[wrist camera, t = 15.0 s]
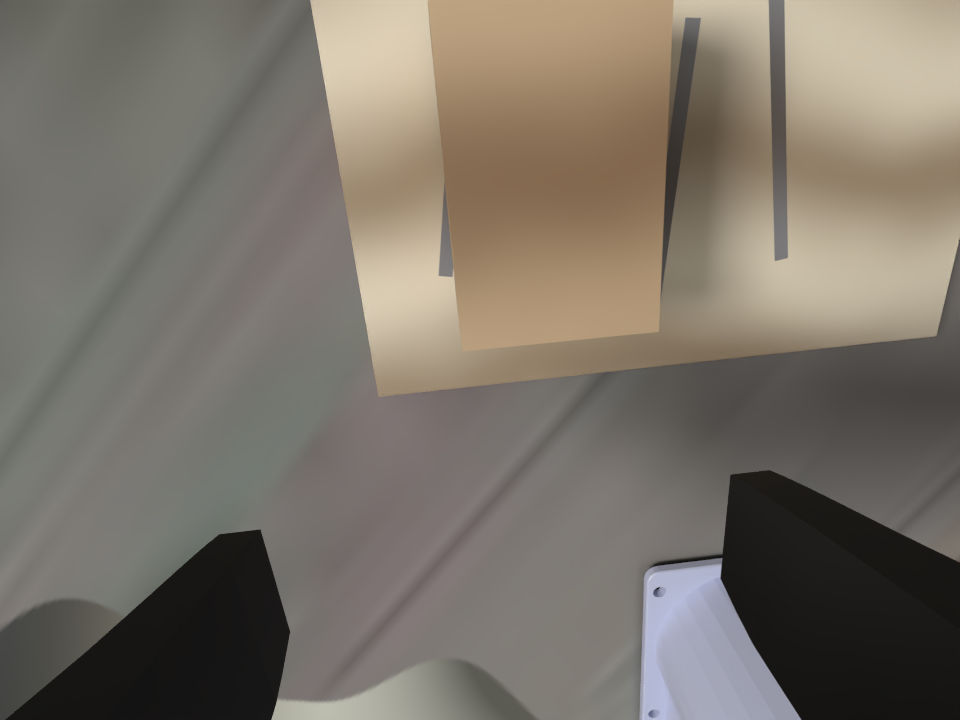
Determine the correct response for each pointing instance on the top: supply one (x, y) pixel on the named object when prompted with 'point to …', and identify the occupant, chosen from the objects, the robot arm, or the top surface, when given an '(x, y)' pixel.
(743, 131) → the board
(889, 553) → the robot arm
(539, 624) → the top surface
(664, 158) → the block
